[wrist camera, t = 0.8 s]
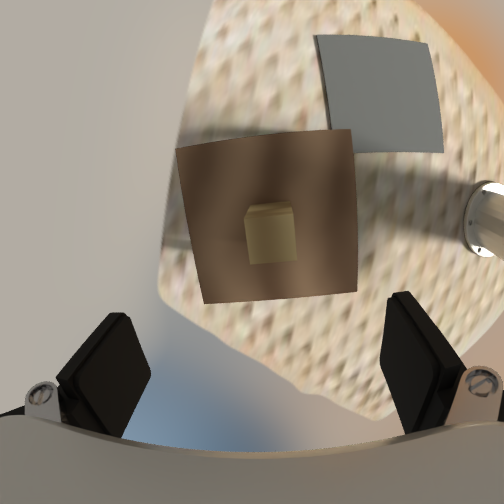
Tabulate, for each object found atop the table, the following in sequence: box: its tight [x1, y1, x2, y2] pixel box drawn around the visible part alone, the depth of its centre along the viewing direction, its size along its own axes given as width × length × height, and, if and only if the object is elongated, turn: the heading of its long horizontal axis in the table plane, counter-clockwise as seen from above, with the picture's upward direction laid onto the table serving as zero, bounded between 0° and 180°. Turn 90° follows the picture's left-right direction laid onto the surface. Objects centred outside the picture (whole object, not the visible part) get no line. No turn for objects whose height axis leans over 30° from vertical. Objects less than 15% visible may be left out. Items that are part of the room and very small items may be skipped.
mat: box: [317, 35, 444, 153], centre depth 32 cm, size 17×17×1 cm
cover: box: [175, 129, 358, 304], centre depth 29 cm, size 15×15×19 cm
